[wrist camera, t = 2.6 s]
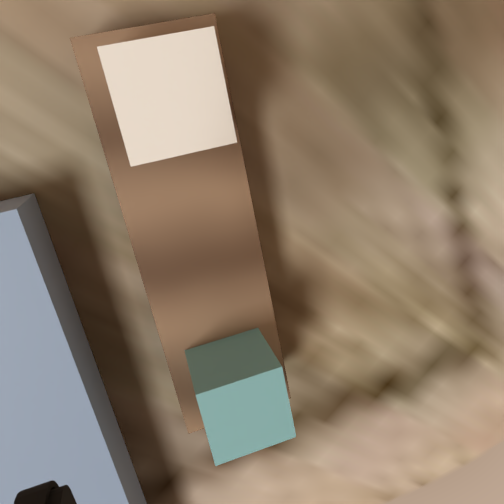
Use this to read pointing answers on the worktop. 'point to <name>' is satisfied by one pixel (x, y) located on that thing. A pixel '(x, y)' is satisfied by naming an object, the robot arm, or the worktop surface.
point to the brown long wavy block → (185, 226)
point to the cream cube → (169, 94)
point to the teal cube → (240, 395)
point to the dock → (51, 377)
